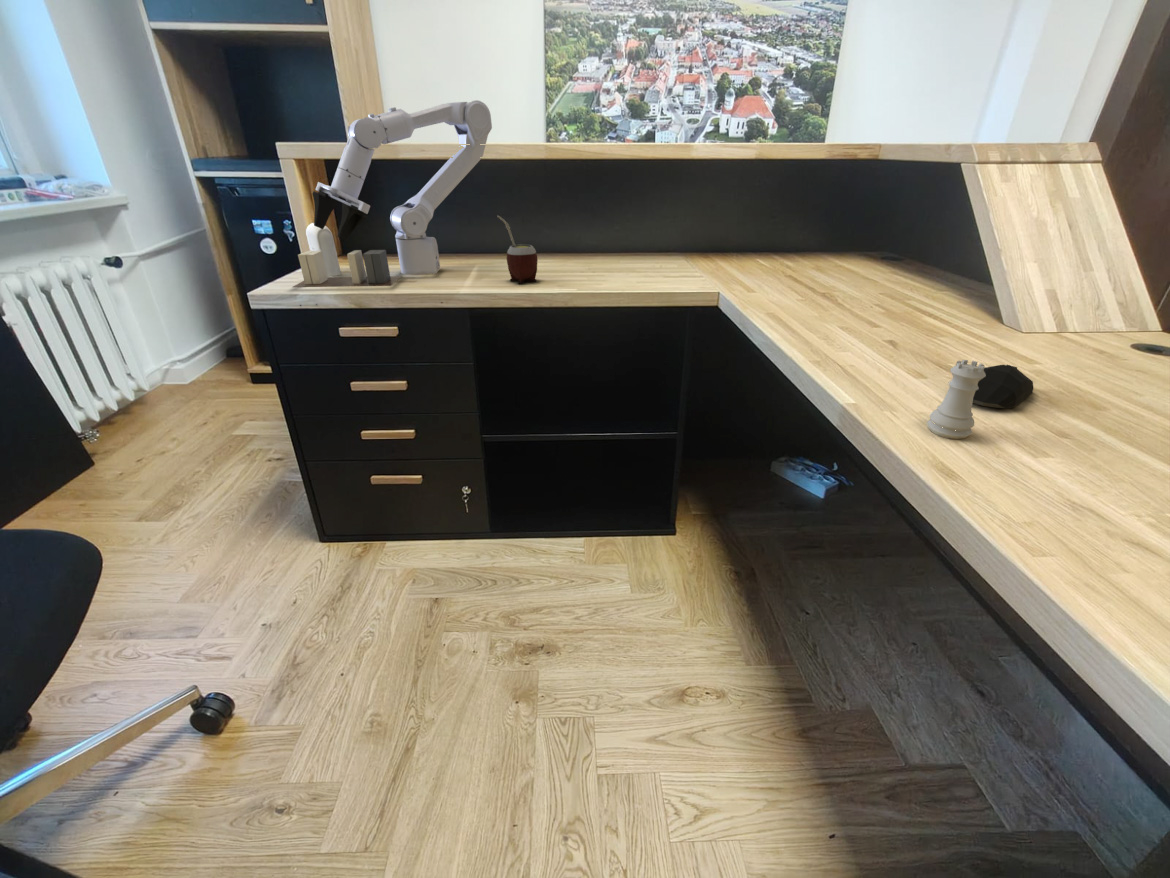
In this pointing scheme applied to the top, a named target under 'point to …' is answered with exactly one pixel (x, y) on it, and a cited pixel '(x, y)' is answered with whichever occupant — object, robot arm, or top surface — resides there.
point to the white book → (356, 266)
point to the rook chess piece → (957, 402)
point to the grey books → (376, 266)
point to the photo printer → (324, 247)
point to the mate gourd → (521, 260)
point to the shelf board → (348, 282)
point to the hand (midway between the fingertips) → (329, 233)
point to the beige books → (313, 267)
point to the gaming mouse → (1002, 387)
